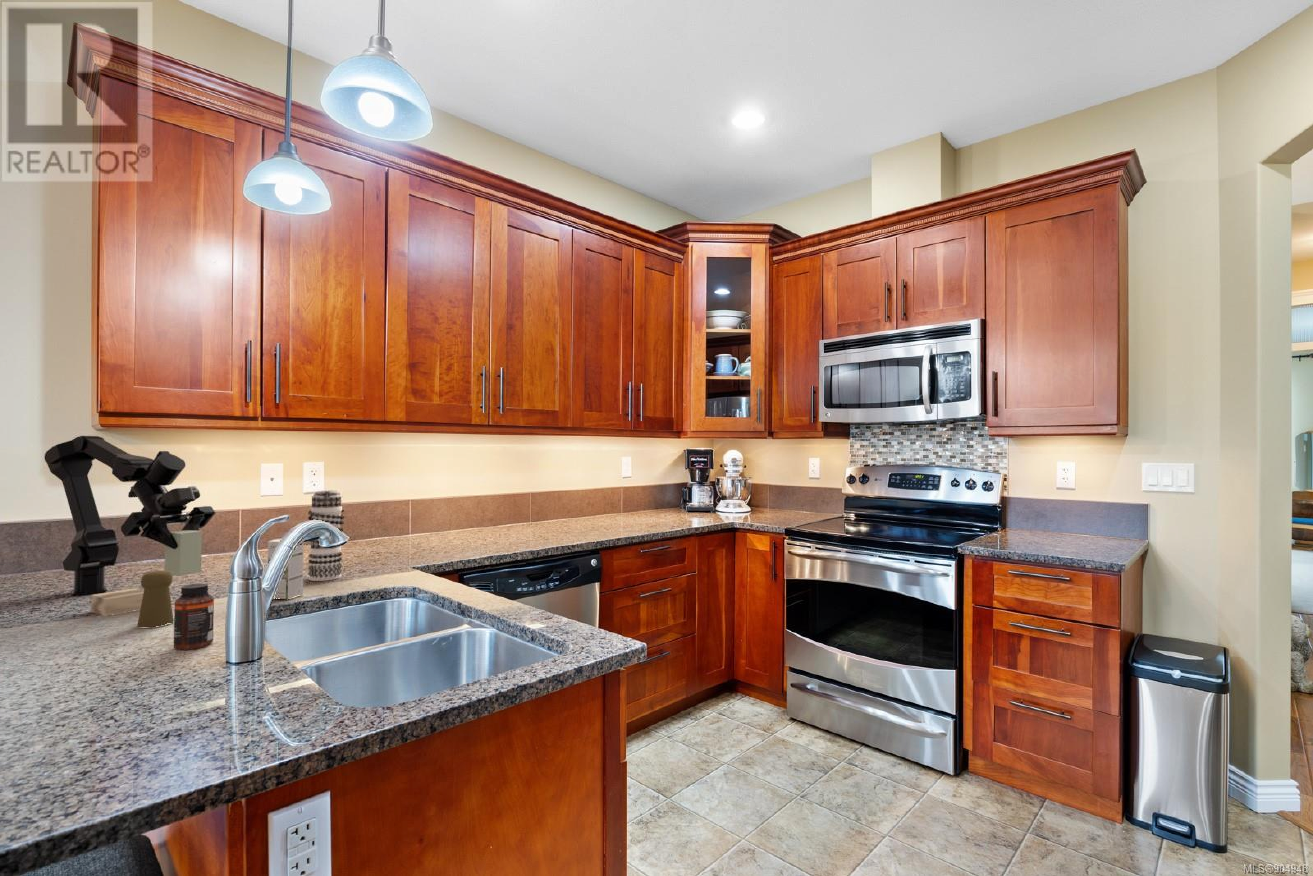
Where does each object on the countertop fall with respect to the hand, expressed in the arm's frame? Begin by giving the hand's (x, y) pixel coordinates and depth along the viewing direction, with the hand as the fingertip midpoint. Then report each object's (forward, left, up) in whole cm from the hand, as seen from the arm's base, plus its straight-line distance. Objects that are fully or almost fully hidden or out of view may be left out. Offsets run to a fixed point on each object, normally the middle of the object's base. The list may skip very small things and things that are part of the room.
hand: (187, 546), depth 147 cm
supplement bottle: (+41, -5, -14) cm, 44 cm away
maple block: (-2, -12, -14) cm, 18 cm away
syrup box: (+10, +18, -14) cm, 25 cm away
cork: (+18, -8, -14) cm, 24 cm away
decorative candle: (-9, +33, -14) cm, 37 cm away
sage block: (-1, -1, -7) cm, 7 cm away
